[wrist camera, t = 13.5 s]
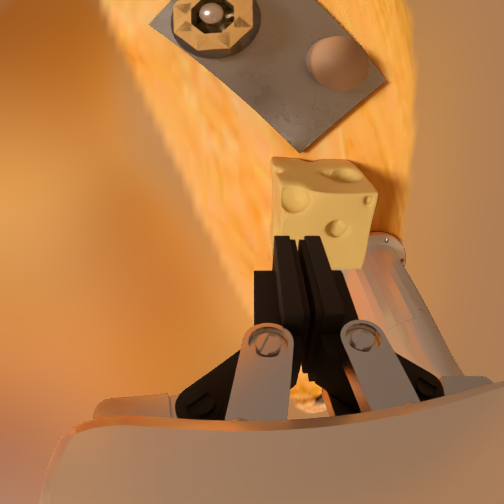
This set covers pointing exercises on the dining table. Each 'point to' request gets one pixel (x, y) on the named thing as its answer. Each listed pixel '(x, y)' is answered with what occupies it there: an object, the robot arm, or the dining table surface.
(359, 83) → the brown rounded dome
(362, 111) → the dining table surface
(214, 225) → the dining table surface
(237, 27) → the collar
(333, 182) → the cheese
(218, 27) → the hub
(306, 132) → the plate
